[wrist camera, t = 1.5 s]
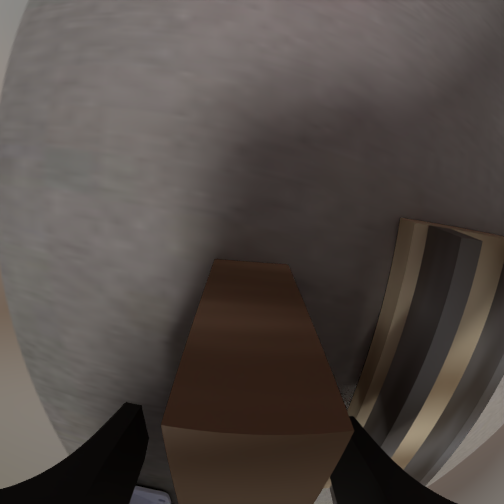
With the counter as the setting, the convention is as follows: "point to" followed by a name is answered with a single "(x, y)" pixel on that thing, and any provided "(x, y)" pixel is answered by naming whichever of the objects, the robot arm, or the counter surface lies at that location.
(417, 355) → the track board
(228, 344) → the door panel
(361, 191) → the counter surface
